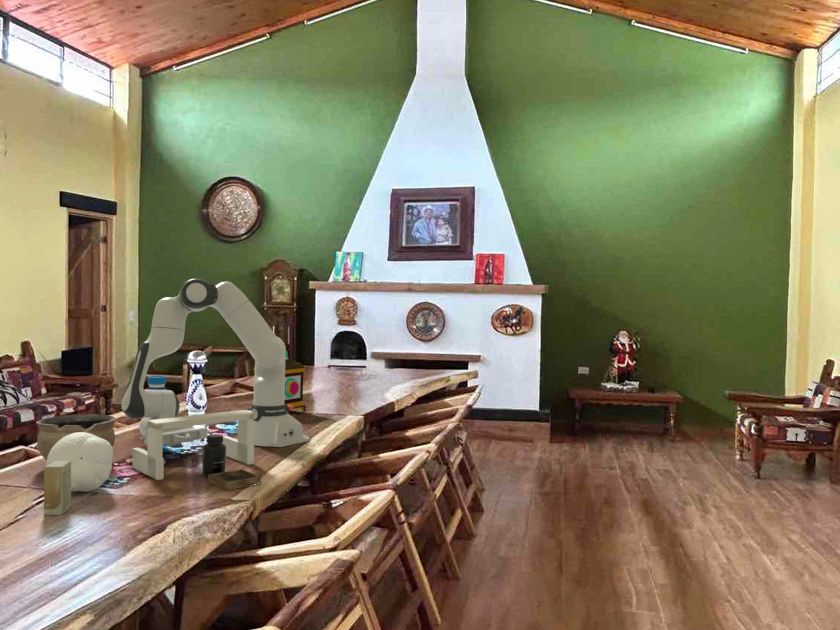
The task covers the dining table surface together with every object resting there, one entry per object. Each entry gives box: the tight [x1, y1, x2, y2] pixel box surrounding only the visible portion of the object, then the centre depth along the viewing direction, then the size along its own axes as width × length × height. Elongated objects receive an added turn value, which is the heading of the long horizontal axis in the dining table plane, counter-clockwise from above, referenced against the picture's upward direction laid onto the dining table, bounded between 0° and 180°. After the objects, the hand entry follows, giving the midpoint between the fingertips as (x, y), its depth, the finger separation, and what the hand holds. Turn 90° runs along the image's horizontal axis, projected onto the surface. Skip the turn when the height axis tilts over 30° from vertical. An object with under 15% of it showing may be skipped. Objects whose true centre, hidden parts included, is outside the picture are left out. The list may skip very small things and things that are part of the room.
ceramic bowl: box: [35, 414, 117, 462], centre depth 223 cm, size 22×22×15 cm
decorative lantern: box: [250, 350, 307, 413], centre depth 324 cm, size 20×20×30 cm
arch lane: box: [132, 409, 255, 481], centre depth 228 cm, size 32×18×16 cm, turn 133°
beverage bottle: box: [147, 374, 168, 390], centre depth 287 cm, size 8×8×20 cm
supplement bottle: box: [201, 433, 227, 478], centre depth 218 cm, size 7×7×12 cm
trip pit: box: [207, 468, 262, 491], centre depth 210 cm, size 11×11×2 cm
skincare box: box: [43, 461, 72, 516], centre depth 180 cm, size 6×4×12 cm
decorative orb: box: [46, 432, 114, 493], centre depth 198 cm, size 20×18×16 cm
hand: (186, 439), depth 233 cm, fingers closed
